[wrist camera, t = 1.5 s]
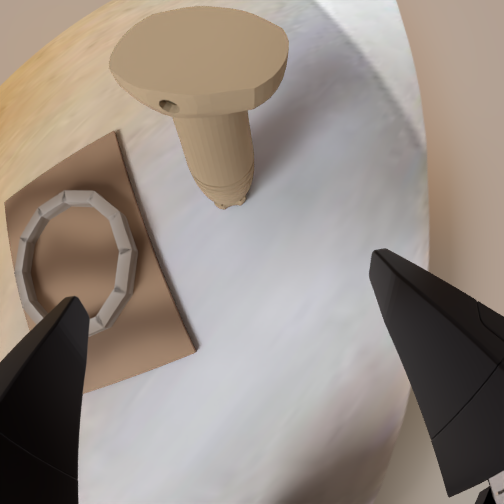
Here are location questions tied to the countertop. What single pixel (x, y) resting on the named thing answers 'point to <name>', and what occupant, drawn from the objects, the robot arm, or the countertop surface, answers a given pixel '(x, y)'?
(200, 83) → the handle
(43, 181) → the socket board
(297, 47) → the countertop surface
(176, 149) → the countertop surface
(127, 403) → the countertop surface
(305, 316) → the countertop surface
